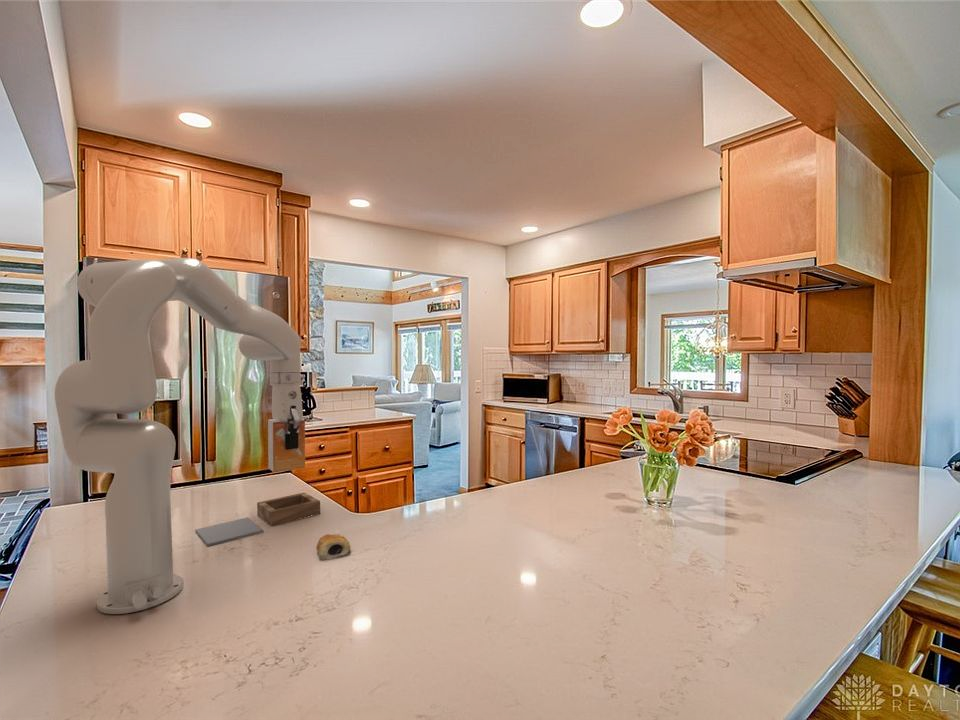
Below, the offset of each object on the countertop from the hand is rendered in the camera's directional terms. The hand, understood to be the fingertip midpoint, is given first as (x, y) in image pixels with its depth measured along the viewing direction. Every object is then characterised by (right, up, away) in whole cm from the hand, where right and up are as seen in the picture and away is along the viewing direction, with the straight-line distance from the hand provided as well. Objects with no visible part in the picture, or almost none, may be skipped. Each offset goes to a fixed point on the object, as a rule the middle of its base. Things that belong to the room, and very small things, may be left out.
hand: (286, 446), depth 126 cm
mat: (-9, -19, -11) cm, 24 cm away
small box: (0, -6, 0) cm, 6 cm away
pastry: (+19, -19, -23) cm, 35 cm away
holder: (0, -18, +1) cm, 18 cm away
